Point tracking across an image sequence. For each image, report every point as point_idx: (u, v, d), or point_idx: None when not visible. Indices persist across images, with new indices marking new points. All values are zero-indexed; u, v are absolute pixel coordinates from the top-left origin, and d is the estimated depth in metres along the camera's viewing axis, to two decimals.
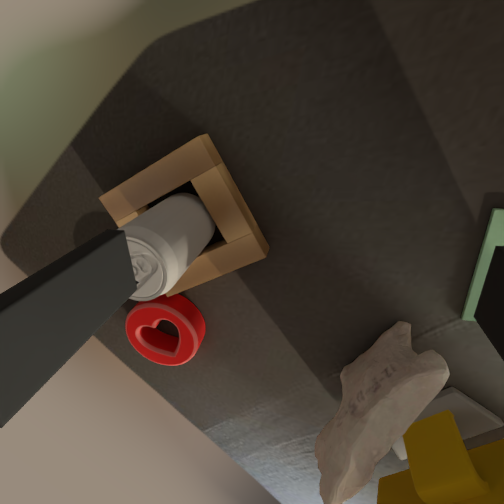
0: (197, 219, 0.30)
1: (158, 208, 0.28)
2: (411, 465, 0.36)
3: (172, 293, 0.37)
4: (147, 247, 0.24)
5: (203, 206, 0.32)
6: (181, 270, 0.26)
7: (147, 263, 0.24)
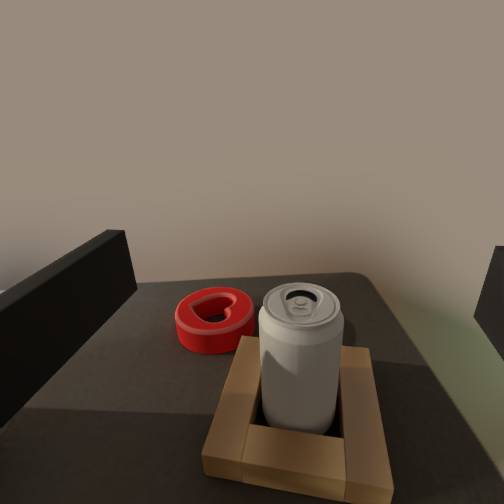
0: (298, 408, 0.24)
1: (336, 376, 0.24)
2: None
3: (241, 341, 0.34)
4: (314, 323, 0.22)
5: (305, 432, 0.25)
6: (268, 341, 0.23)
7: (299, 314, 0.22)
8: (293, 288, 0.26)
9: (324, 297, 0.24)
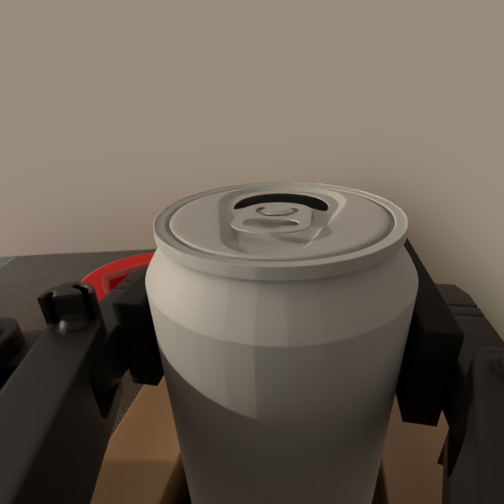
0: None
1: (383, 441, 0.08)
2: None
3: None
4: (323, 259, 0.05)
5: None
6: (160, 332, 0.07)
7: (266, 230, 0.06)
8: (261, 191, 0.09)
9: (349, 201, 0.08)
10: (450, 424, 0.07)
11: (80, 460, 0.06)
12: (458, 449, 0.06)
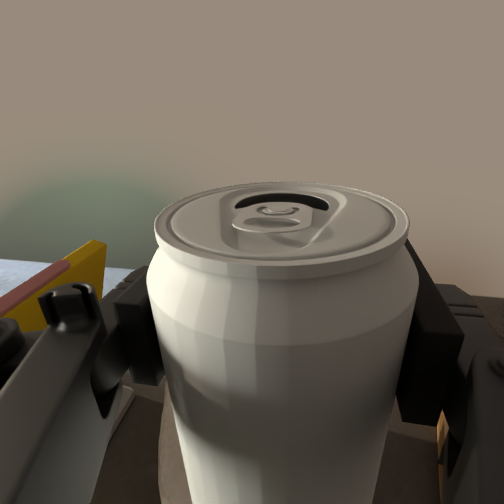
0: None
1: (383, 440, 0.08)
2: None
3: None
4: (324, 259, 0.05)
5: None
6: (161, 331, 0.07)
7: (267, 229, 0.06)
8: (261, 191, 0.09)
9: (350, 201, 0.08)
10: (450, 424, 0.07)
11: (80, 460, 0.06)
12: (458, 449, 0.06)
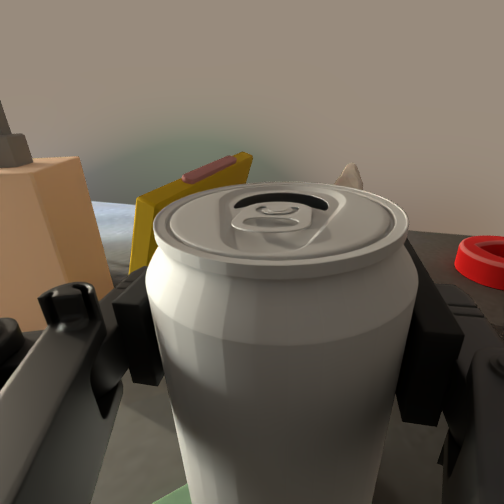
0: None
1: (383, 440, 0.08)
2: None
3: None
4: (323, 258, 0.05)
5: None
6: (160, 331, 0.07)
7: (266, 229, 0.06)
8: (261, 191, 0.09)
9: (349, 201, 0.08)
10: (450, 424, 0.07)
11: (79, 460, 0.06)
12: (458, 449, 0.06)
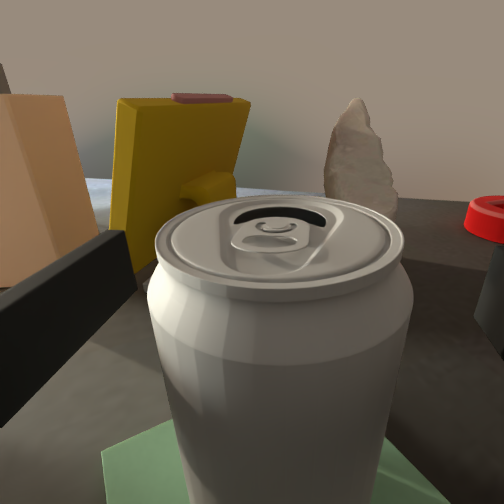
0: None
1: (379, 451, 0.08)
2: None
3: None
4: (320, 280, 0.06)
5: None
6: (162, 347, 0.07)
7: (265, 249, 0.06)
8: (260, 204, 0.10)
9: (347, 217, 0.08)
10: None
11: None
12: None
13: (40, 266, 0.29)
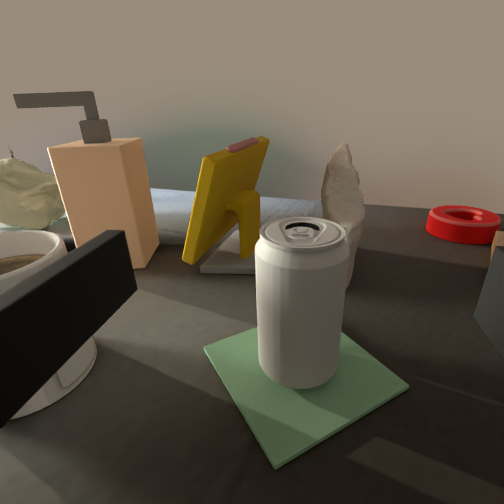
0: (298, 349, 0.22)
1: (340, 315, 0.22)
2: (259, 211, 0.46)
3: (498, 232, 0.45)
4: (317, 246, 0.19)
5: (305, 378, 0.23)
6: (265, 270, 0.20)
7: (300, 238, 0.20)
8: (293, 221, 0.23)
9: (327, 226, 0.22)
10: None
11: None
12: None
13: None
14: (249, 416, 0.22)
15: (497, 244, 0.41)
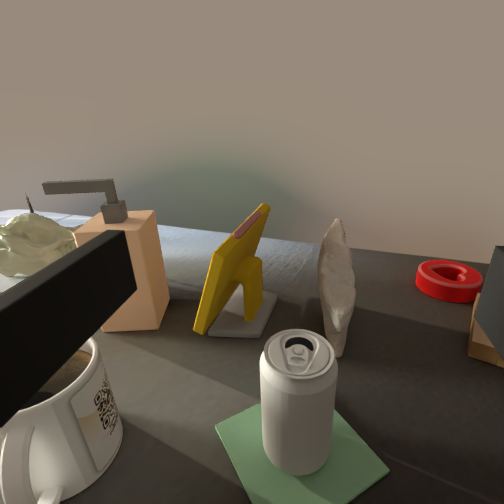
0: (296, 448, 0.26)
1: (330, 418, 0.27)
2: None
3: (478, 295, 0.49)
4: (311, 375, 0.24)
5: (302, 468, 0.27)
6: (268, 388, 0.25)
7: (297, 365, 0.24)
8: (291, 335, 0.28)
9: (320, 346, 0.26)
10: None
11: None
12: None
13: (143, 319, 0.47)
14: (255, 502, 0.27)
15: None
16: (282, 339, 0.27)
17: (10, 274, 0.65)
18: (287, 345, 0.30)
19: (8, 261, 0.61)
